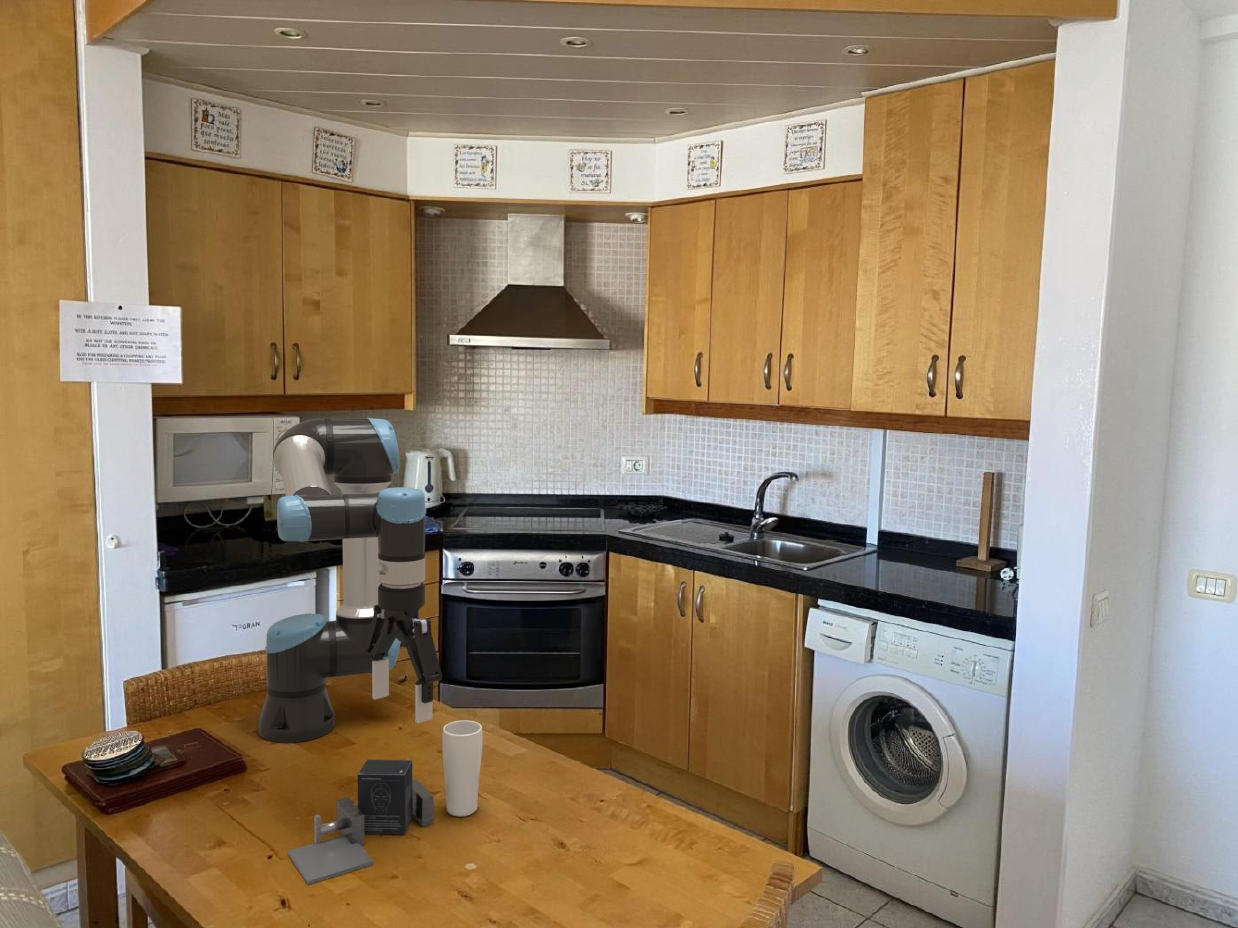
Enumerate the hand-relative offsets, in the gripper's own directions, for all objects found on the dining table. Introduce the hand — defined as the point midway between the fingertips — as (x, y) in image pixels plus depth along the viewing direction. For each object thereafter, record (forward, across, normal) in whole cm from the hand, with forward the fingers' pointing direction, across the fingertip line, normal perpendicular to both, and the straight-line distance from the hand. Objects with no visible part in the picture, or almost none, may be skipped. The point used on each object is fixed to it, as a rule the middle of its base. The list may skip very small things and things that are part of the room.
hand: (401, 708), depth 152 cm
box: (+20, -1, -2) cm, 20 cm away
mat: (+20, +3, -14) cm, 25 cm away
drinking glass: (+20, +3, +10) cm, 23 cm away
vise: (+20, -1, -5) cm, 21 cm away
